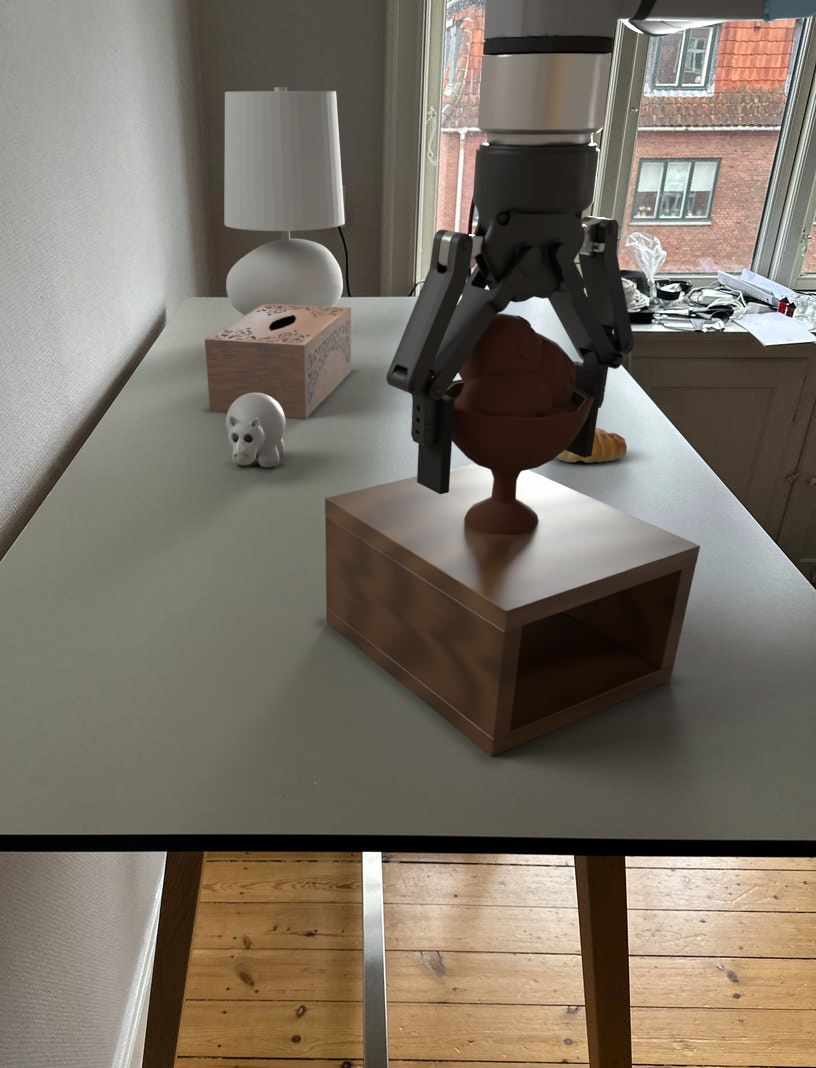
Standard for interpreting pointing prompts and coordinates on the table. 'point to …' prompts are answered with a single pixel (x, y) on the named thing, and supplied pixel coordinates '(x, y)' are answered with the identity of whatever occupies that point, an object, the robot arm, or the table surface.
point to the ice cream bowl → (514, 415)
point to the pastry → (600, 448)
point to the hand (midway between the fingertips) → (507, 469)
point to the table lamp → (283, 195)
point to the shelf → (506, 601)
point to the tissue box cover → (280, 356)
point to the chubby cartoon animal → (256, 430)
